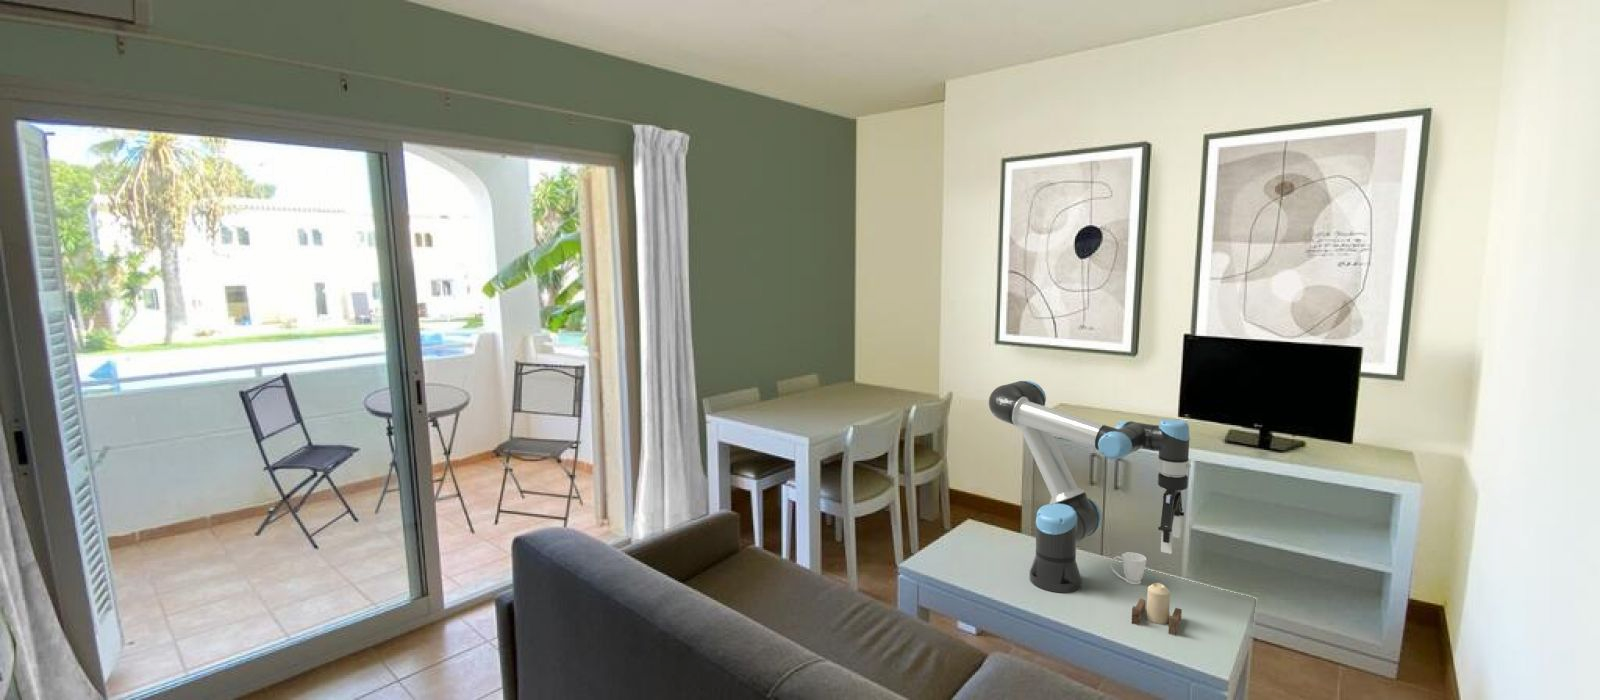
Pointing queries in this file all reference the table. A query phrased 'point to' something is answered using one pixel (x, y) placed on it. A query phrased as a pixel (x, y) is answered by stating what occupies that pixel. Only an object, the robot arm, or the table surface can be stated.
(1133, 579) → the cup
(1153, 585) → the candle
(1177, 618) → the wooden stepped bars
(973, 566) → the table surface
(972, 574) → the table surface
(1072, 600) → the table surface
